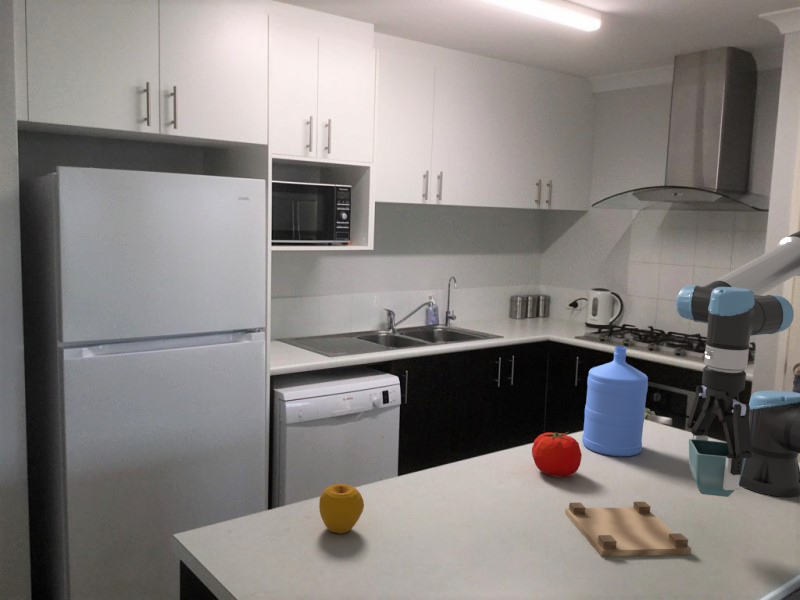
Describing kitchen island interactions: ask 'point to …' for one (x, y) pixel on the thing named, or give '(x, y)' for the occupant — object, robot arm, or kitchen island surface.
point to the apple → (340, 507)
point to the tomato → (556, 454)
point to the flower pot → (709, 466)
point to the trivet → (626, 531)
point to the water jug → (615, 407)
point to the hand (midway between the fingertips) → (713, 477)
